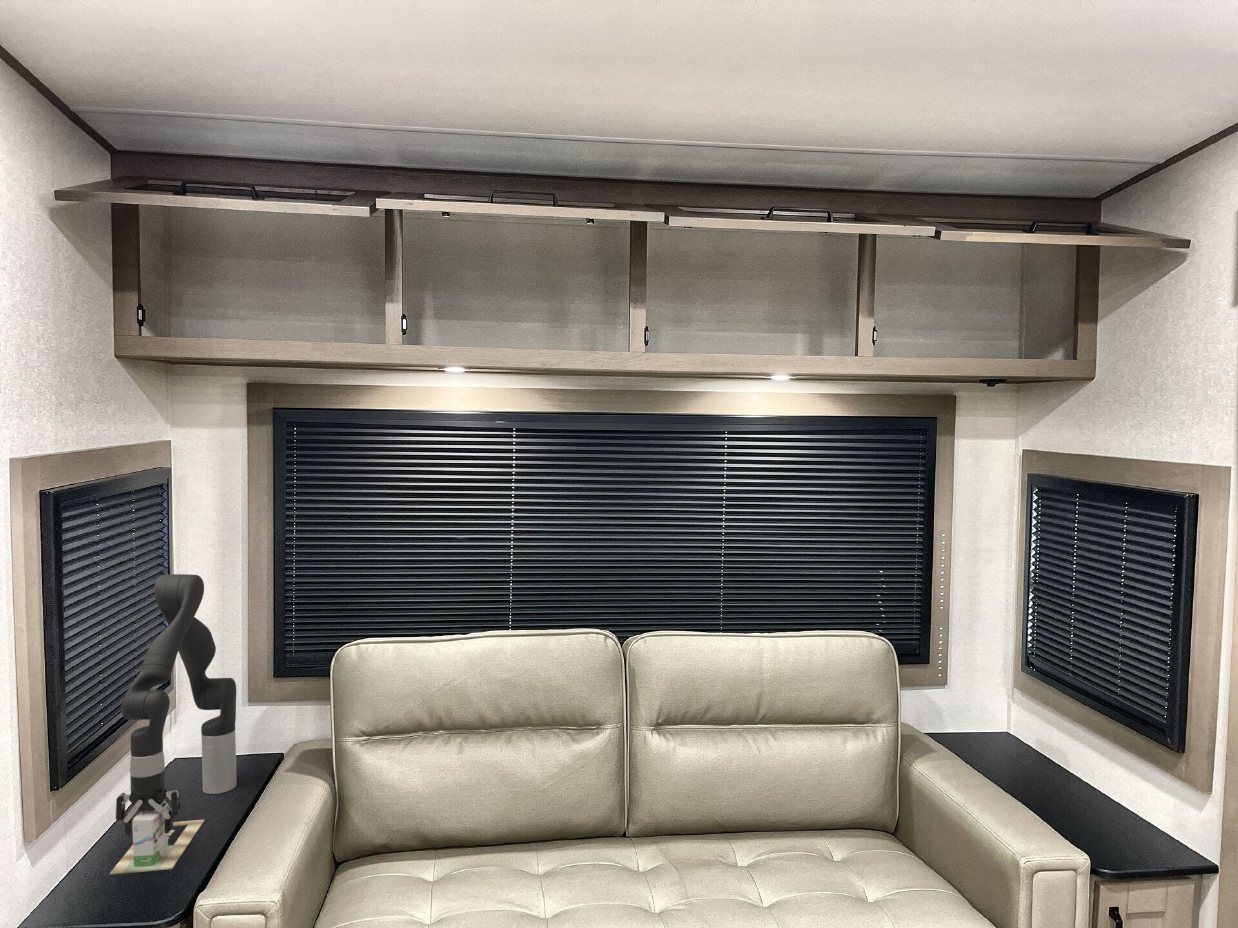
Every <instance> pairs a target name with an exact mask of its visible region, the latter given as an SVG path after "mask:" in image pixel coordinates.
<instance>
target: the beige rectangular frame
mask: <svg viewBox="0 0 1238 928" xmlns="http://www.w3.org/2000/svg"><path fill="white" fill-rule="evenodd" d="M204 822H205V819H196V820H194V819H193V820H185V821H182V820H181V821H173V827H181V826H186V827H185V829H183V831H182V832H181V834H180V835H179V837H178V838H177V840H176V841H175V842H174V844H168V850H167V851H166V852H165V853H164V854H163V855H162V856H161V857H160V858H159V860H158V861H157V862H156V863H155V864H154V865H149V866H134V856H133V844H132V845H131V846H130V847H129V849H128V850H127V851H126V852H125V854H124V855H123V856H122V858H120V860H119V861H118V863H117V864H115V866H114V867H113V869H112V870H111V871H110V873H109V875H121V874H131V873H132V874H133V873H144V872H154V871H164V870H173V869H174V867H175V866H176V864H177V862H178V860H179V859H180V858H181V856H182V855H183V854H184V852H185V850H186V849H187V847H188V846H189V844H190V843H191V841H192V840H193V838H194V837H195V836H196V834H197V833H198V831H199V830H200V829H201V827H202V825H203V823H204ZM175 831H176V830H175V829H171V831H170V832H169V833H168V840H169V839H170V836H172V835H173V833H174V832H175Z"/></svg>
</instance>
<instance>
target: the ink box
mask: <svg viewBox="0 0 1238 928" xmlns="http://www.w3.org/2000/svg"><path fill="white" fill-rule="evenodd" d="M132 819H133V820H132V826H133V835H132V845H133V856H134V866H149V865H154V864H155V863H156V862H157V861H158V860H159V858H160V857H161V856H162V855H163V854H164V853H165V852H166V851H167V850H168V845H169V839H168V837H169V836H168V833H165V821H164V820H165V817H164V816H163V815H162V814H160V813H159V812H158V811H157V810H154V811H145V812H140V811H139V813H138V814H136V816H133V818H132Z"/></svg>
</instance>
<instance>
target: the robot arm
mask: <svg viewBox="0 0 1238 928" xmlns="http://www.w3.org/2000/svg"><path fill="white" fill-rule="evenodd" d="M153 589H154V590H153V591H154V598H155V601H156V604H157V606H158V609H159V610H160V612H161V615H162V616H163V618H164V619H165V621H166V623H167V627H166V628H165V629H164V630H163V631H162V632H161V633H159V634H158V636H156V638H154V640H153V641H152V642H151V643H150V645H149V647H148V648H147V651H146V653H145V657H144V659H143V663H142V665H141V669H140V671H139V673H138V675H137V676H136V677H135V679H134V681H133V682H132V683H131V685H130V687H129V688H128V690H127V691H126V693H125V694H124V697H123V698H122V700H121V704H120V712H121V715H122V716H123V718H125V719H126V720H129V721H133V720H135V721H137V720H142V721H143V720H149V723H148V725H147V726H145V725H144V726H142V727H139V728H136V729H135V730H133V731H132V732H131V734H130V762H129V774H130V775H129V776H130V794H126V793H125V792H122V793H120V794H119V796H117V797H116V803H115V806H116V807H115V820H116V821H117V822H119V821H120V822H121V821H122V822H124V833H125V835H126V836H127V837H129V838H131V837H133V826H132V820H133V819H134V817H135V814H136V813H137V812H138V811H139V813H140V812H145V811H154V810H157V811H158V812H159V813H160V814H162V815H163V816H164V817H165V820H164V821H165V833H169V832H170V831H171V830H173V827H174V826H173V822H174V817H176V816H178V815H179V813H180V812H181V810H182V805H181V794H180V789H179V788H175V789H174V790H169V791H167V790H166V771H165V770H166V768H165V767H166V765H165V763H166V762H165V754H164V740H163V739H164V738H163V737H164V730H165V725H166V722H167V721H166V720H167V717H168V713H169V709H170V705H171V699H170V697H169V695H168V693H167V692H166V691H164V690H160V689H153V690H152V688H154V687H156V686H161V685H163V684H166V683H168V681H169V680H170V679H171V675H172V672H173V669H174V665H175V663H176V659H177V656H178V654H179V656H180V659H181V660H182V663H183V666H184V669H185V671H186V674H187V677H188V680H189V685H190V689H191V693H192V697H193V701H194V703H195V706H196V707H197V708H198V709H199V710H201V711H216V710H217V711H218V710H219V715H218V716H216V717H213V718H211V719H208V720H206V721H204V722H203V723H202V725H201V729H200V734H201V763H202V765H201V767H202V770H201V771H202V775H201V776H202V792H203V793H205V794H210V795H216V794H222V793H223V794H224V793H227V792H229V791H231V790H233V789H235V788H236V787H237V747H236V745H237V743H236V719H237V718H236V717H237V684H236V680H235V679H234V678H232V677H210V678H209V677H208V676H207V674H206V671H207V669H208V668H209V666H210V665H211V663H212V661H213V659H214V658H215V655H216V652H217V647H216V644H215V640H214V638H213V634H212V632H211V630H210V628H209V627H208V626H207V625H206V624H205V623H203V622H202V621H201V620H200V619H198V618H197V617H196V614H197V612H198V610H199V608H200V606H201V603H202V601H203V598H204V593H205V583H204V580H203V578H202V577H201V576H200V575H198V574H188V573H187V574H184V573H183V574H181V573H179V574H178V573H177V574H175V573H174V574H173V573H171V574H163V575H160V576H159V577H158V578H157V580H156V581H155V584H154V588H153ZM166 798H168V800H169V801H171V807H170V806H169V803H168V802H167V801H166V800H165V799H166ZM128 801H129V802H130V803H131V805H133V807H132V808H131V809H130V811H129V812H128V813H127V812H126V804H127V802H128Z"/></svg>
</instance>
